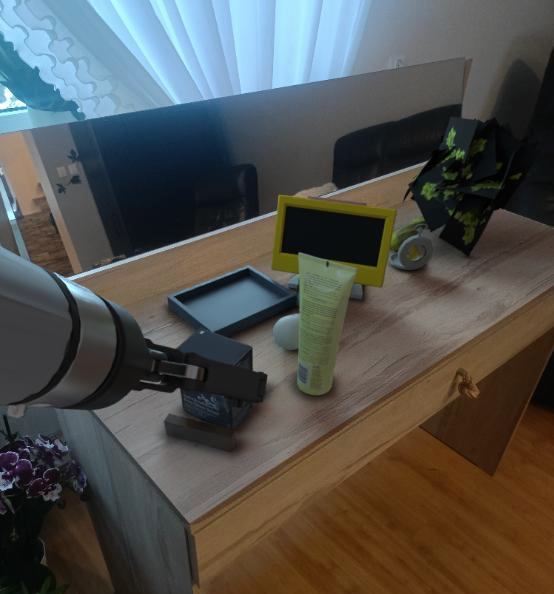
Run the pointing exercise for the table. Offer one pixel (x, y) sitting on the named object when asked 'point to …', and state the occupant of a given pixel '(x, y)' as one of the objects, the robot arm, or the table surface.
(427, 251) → the pocket watch
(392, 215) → the toy computer monitor
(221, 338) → the box
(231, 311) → the tray
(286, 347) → the figurine
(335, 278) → the tube
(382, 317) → the table surface
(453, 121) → the potted plant
